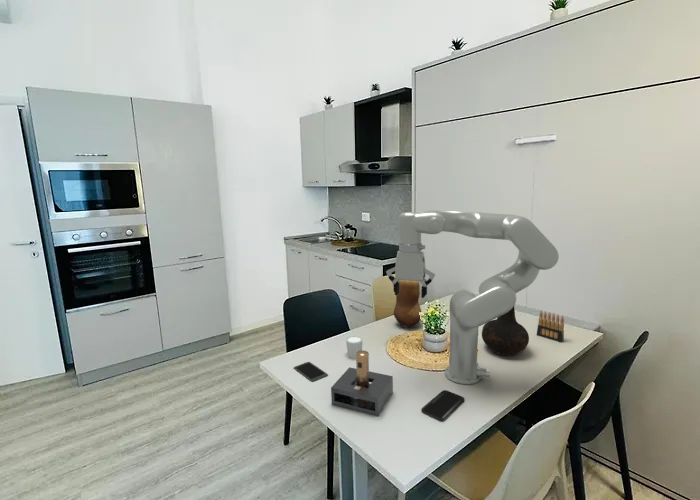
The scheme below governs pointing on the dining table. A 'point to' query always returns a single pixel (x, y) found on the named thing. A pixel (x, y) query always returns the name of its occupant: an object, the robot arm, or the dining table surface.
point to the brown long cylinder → (362, 369)
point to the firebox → (362, 392)
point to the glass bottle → (505, 335)
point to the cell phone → (310, 371)
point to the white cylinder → (353, 346)
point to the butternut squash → (408, 303)
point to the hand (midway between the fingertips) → (410, 295)
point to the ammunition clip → (551, 327)
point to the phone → (443, 405)
